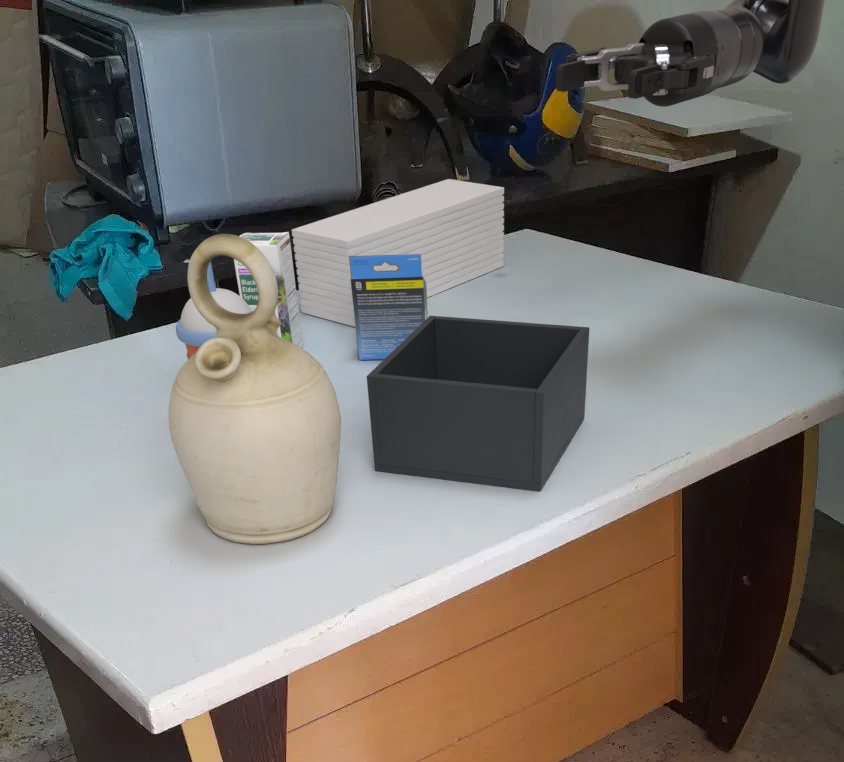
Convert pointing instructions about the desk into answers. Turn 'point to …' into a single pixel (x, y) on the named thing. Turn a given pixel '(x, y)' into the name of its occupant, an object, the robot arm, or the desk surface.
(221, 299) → the cup with straw
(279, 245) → the syrup box
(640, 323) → the desk surface
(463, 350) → the bin
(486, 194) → the white rectangular block
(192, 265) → the jug
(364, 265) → the tape cartridge
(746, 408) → the desk surface
